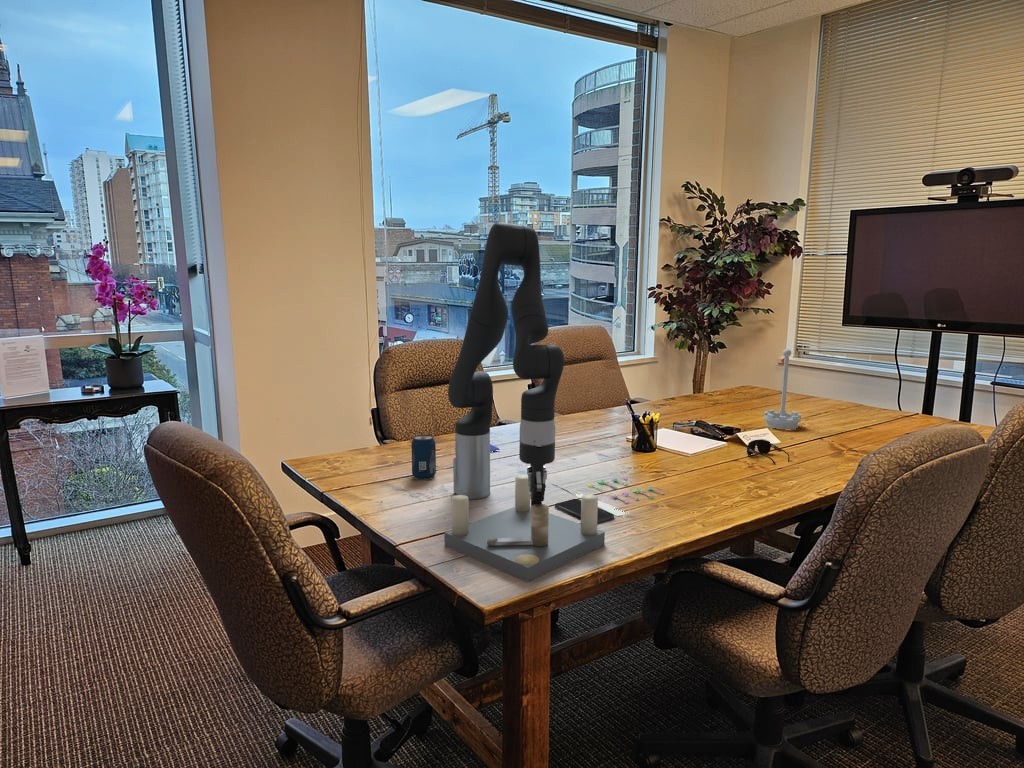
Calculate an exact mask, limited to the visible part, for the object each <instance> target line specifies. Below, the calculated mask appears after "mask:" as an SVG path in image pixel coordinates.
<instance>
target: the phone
mask: <svg viewBox="0 0 1024 768" xmlns="http://www.w3.org/2000/svg"><path fill="white" fill-rule="evenodd" d="M554 508H555V509H556V510H559V511H561V512H562V513H564V514H567V515H569V516H571V517H573V518H575V517H576V518H575V519H578V520H580V521H581V499H580V498H571V499H568V500H565V501H561V502H556V503H555V504H554ZM614 519H615V515H614V514H612V513H610V512H608V511H606V510H604V509H602V508H600V507H598V513H597V525H599V524H603V523H604V522H610V521H612V520H614Z"/></svg>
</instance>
